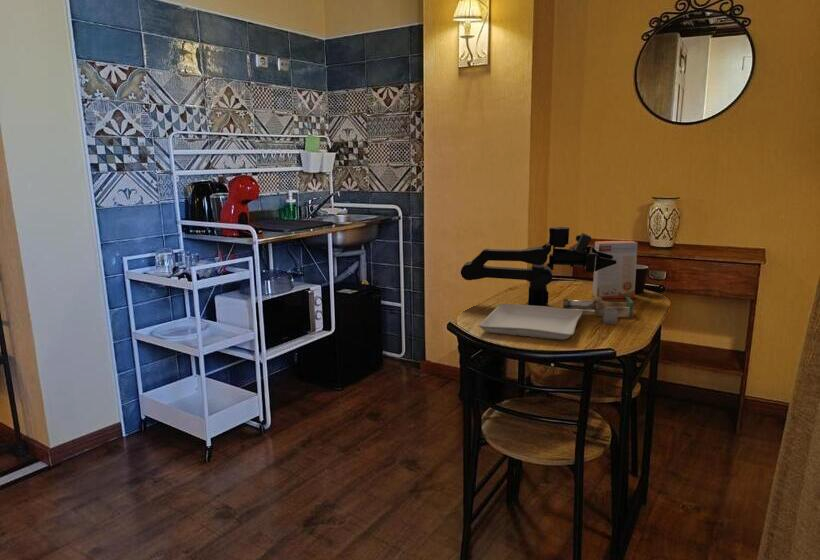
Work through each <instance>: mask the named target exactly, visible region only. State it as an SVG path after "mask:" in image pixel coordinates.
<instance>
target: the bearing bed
mask: <svg viewBox="0 0 820 560" xmlns="http://www.w3.org/2000/svg"><path fill="white" fill-rule="evenodd" d="M593 297H594V298H593V301H596V310H582V309H573V310H582V311H583V313H582V315H585V316H586V315H587V316H596V317H602V313H603V308H610V309H616V310H617V311H618V318H633V314H634V302H633V300H632V298H630V297H626V298H625V302H622V301H620V302H619V301H603V298H601V297H595V296H593ZM582 315H581V316H582Z"/></svg>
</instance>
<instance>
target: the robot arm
mask: <svg viewBox="0 0 820 560" xmlns="http://www.w3.org/2000/svg"><path fill="white" fill-rule="evenodd" d="M570 229H571V228H570V227H565V226H558V227H549V229H548V233H549V237H548V238H549V239H548V242H546V243H545V244H544V245H542V246H532V247H528V248H525V249H524V248H523V249H499V248H498V249H491V248H484V249H482V250H481V252H480V253H478V255H477V256H475V257H474V258H473V259H472V260H471V261H467V262H465V263H464V264H463V266H462V267H461V269H460V275H461V277H462V278H463V279H464V280H466V281H475V280H480V279H487V278H488V279H489V278H490V279H503V280H520V281H526V282H529V285H528V298H527V299H528V300H527V305H534V306H546V307H548V304H549V291H548V287H547V285H549V284H550V283H551V282H552V281H553V278H554V277H553V272H552V271H553V270H554V267H555V266H570V268H574V267H582V268H584V269H585V271H586V272H588V273H594V271H597V270H600V269H603V268H605V267H608V266H611V265H614V264H616V260H612V258H613V256H612V255H609V254H605V253H602V252H598V251H596V250H595V246H592V245H590V244H589V243H590V242H591V241H592V236H591V235H589V234H586V233H583V232H582V233H581V234H577V235H576V237H575V241H577V242H576V245H575V247H572V246H571V247H570V248H566V246H567V245H569V243H570V242H569V239H570ZM551 251H552V253H550V252H551ZM488 261H490V262H491V261H494V262H496V261H497V262H523V263H526V264H530V265H531V267H527V268H523V267H521V268H520V267H509V266H490V265H489V266H488V265H486V263H487V262H488ZM547 261H548V262H547ZM546 262H547V263H546ZM545 263H546V265H545ZM554 265H555V266H554Z"/></svg>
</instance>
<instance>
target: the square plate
mask: <svg viewBox="0 0 820 560" xmlns="http://www.w3.org/2000/svg"><path fill="white" fill-rule="evenodd" d="M582 313H583V311H582V310H573V309H565V308H563V307H555V306H534V305H528V304H514V303H513V304H510V303H509V304H508V303H507V304H506V303H500V304H499V305H497V306H496V307H495V309H493V311H491V312H490V313H489V314H488V315H487V316H486V317H485V318H484V319H483V320H482V321H481V322H480V323H479V325H478V327H479V328H480V329H482V330H483V331H484V332H487V333H491V334H499V333H500V335H507V334H509V336H516V335H520V336H519V337H526V336H530V337H529V338H536V337H539V338H538V339H546V338H547V340H548V339H549V340H562V341H563V340H567V339H569V338H570V337H571V336H572V335H574V334H575V332H576V326H577V324H578V321H579V320H580V318H581V317H582Z"/></svg>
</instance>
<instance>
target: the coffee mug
mask: <svg viewBox="0 0 820 560" xmlns="http://www.w3.org/2000/svg"><path fill="white" fill-rule="evenodd" d="M648 271H649V266H647V265H643V264H636V279H635V295H638V294H637V293H641V294H644V292H645V291H644V290H645V287H646V283H647V276H648Z"/></svg>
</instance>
